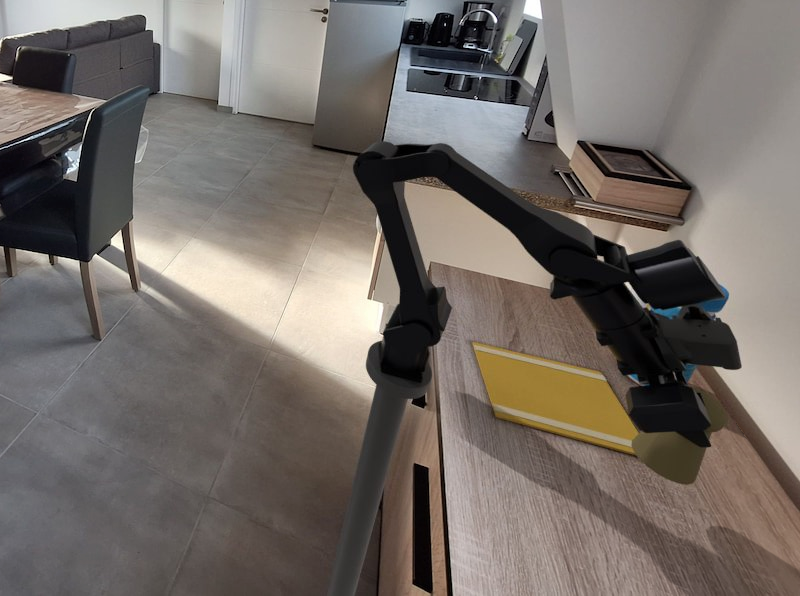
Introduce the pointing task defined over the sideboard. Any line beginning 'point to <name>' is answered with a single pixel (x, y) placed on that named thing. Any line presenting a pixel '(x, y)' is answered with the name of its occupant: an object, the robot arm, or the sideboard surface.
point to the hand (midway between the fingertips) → (700, 430)
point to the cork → (678, 447)
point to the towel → (555, 398)
